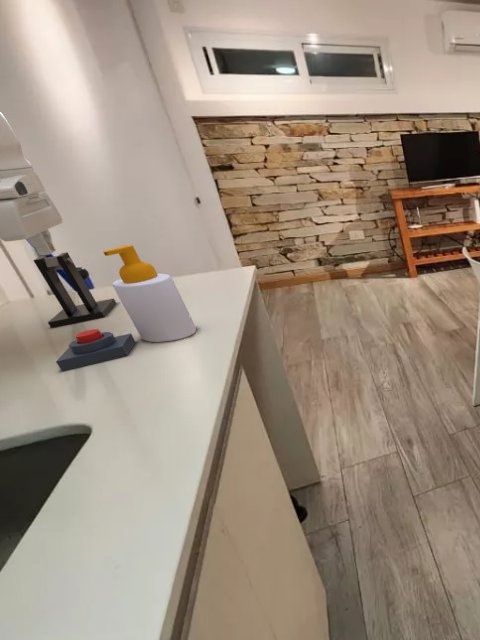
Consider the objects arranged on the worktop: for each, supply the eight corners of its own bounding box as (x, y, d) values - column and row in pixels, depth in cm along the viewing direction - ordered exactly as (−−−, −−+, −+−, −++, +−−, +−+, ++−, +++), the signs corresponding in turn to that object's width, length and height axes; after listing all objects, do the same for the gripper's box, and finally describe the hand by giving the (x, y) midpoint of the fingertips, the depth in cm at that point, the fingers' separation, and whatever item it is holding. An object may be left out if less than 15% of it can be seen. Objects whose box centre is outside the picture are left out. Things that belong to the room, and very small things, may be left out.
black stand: (67, 313, 125) (32, 255, 118) (116, 303, 130) (85, 247, 123) (50, 328, 116) (11, 266, 109) (104, 317, 120) (69, 257, 113)
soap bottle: (129, 340, 106) (80, 251, 97) (168, 324, 113) (125, 241, 104) (170, 344, 102) (122, 253, 93) (208, 328, 109) (167, 241, 100)
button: (77, 346, 95) (72, 338, 94) (82, 339, 98) (78, 332, 97) (100, 341, 97) (96, 333, 96) (105, 335, 100) (101, 327, 99)
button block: (61, 371, 94) (50, 353, 92) (75, 356, 100) (64, 339, 98) (127, 355, 98) (117, 338, 96) (135, 342, 104) (126, 325, 103)
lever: (76, 283, 127) (71, 270, 127) (93, 280, 129) (89, 267, 129) (43, 270, 115) (38, 256, 115) (63, 267, 116) (59, 253, 116)
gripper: (10, 182, 100) (47, 246, 106) (-42, 193, 84) (5, 268, 90) (51, 178, 103) (84, 241, 109) (8, 188, 87) (50, 261, 93)
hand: (48, 253), depth 99 cm, fingers closed
